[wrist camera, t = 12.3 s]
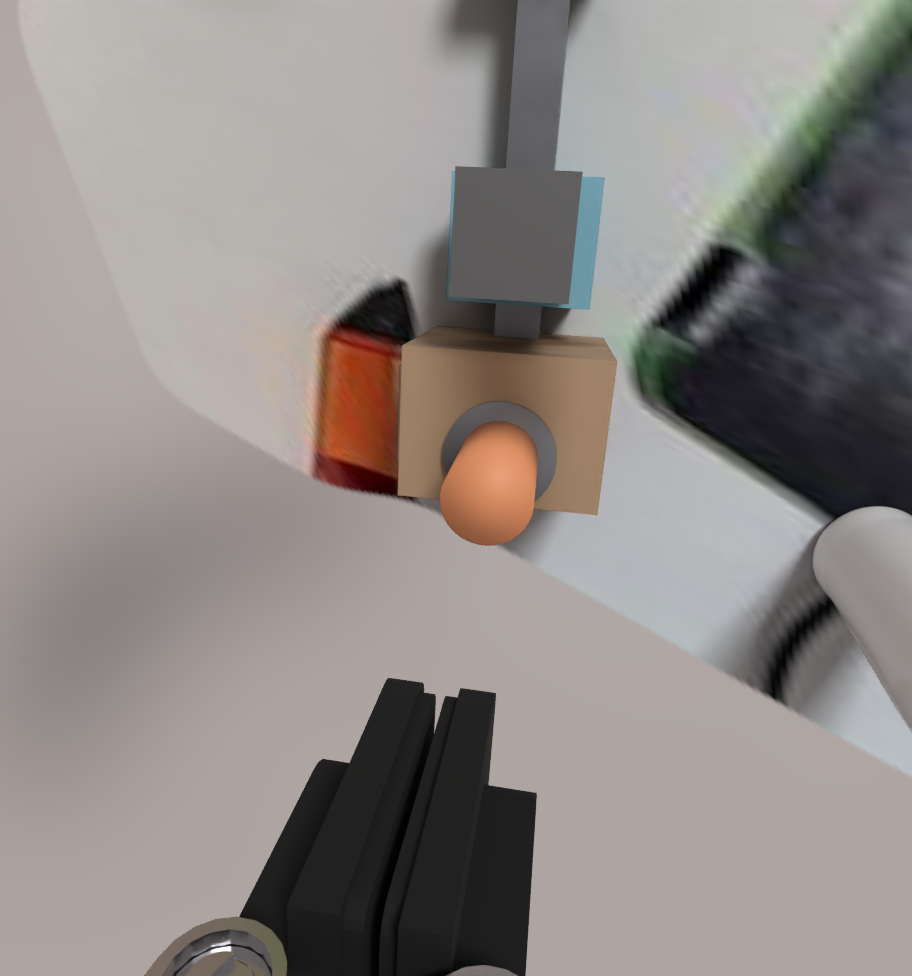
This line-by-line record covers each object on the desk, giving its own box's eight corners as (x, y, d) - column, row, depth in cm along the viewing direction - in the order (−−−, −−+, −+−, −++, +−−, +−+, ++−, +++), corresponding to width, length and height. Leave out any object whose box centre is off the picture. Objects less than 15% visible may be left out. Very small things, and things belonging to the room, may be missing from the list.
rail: (615, -76, 27) (624, -129, 24) (571, 335, 33) (573, 345, 29) (491, -76, 28) (480, -128, 24) (467, 328, 33) (456, 337, 29)
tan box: (603, 337, 32) (617, 362, 25) (588, 463, 34) (597, 522, 27) (428, 325, 33) (389, 345, 26) (423, 448, 35) (386, 501, 28)
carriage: (598, 187, 30) (617, 155, 21) (585, 303, 32) (597, 322, 23) (465, 181, 31) (425, 147, 22) (458, 295, 33) (419, 309, 23)
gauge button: (541, 424, 26) (538, 460, 21) (534, 499, 27) (529, 550, 22) (462, 417, 26) (442, 452, 21) (458, 491, 27) (437, 540, 22)
